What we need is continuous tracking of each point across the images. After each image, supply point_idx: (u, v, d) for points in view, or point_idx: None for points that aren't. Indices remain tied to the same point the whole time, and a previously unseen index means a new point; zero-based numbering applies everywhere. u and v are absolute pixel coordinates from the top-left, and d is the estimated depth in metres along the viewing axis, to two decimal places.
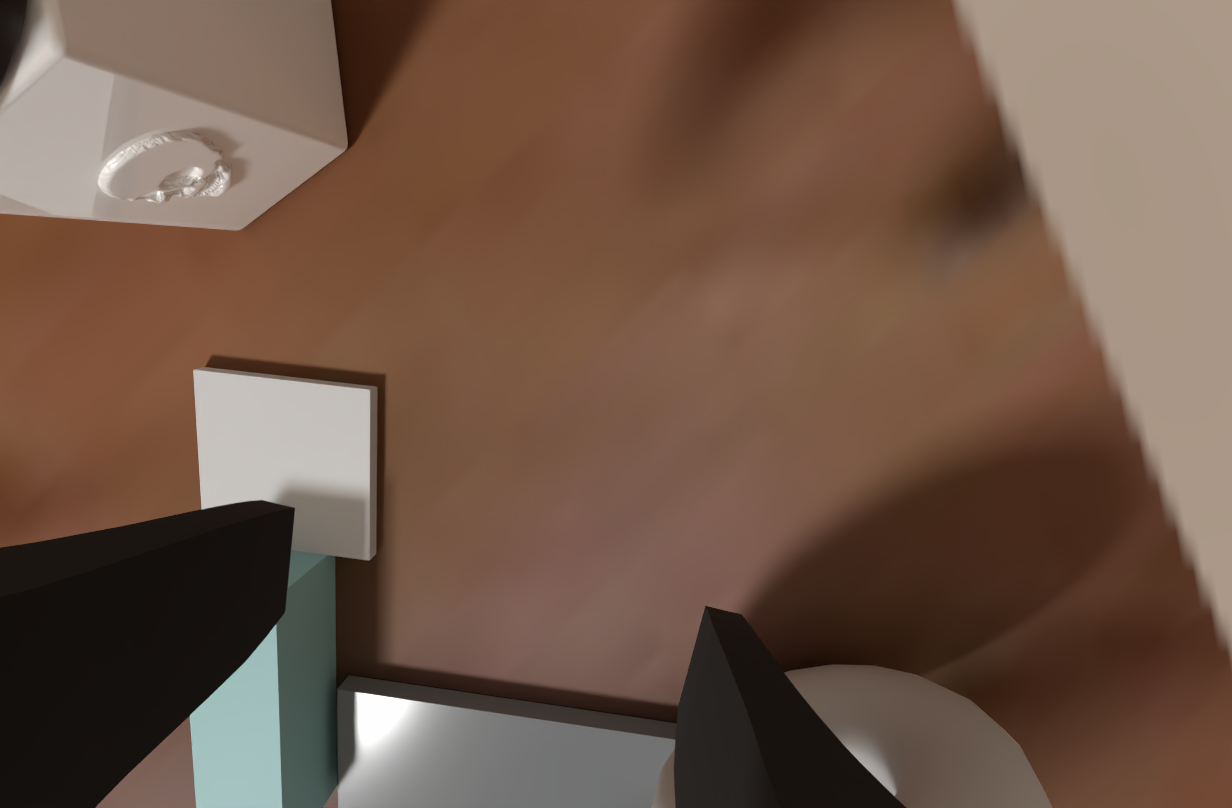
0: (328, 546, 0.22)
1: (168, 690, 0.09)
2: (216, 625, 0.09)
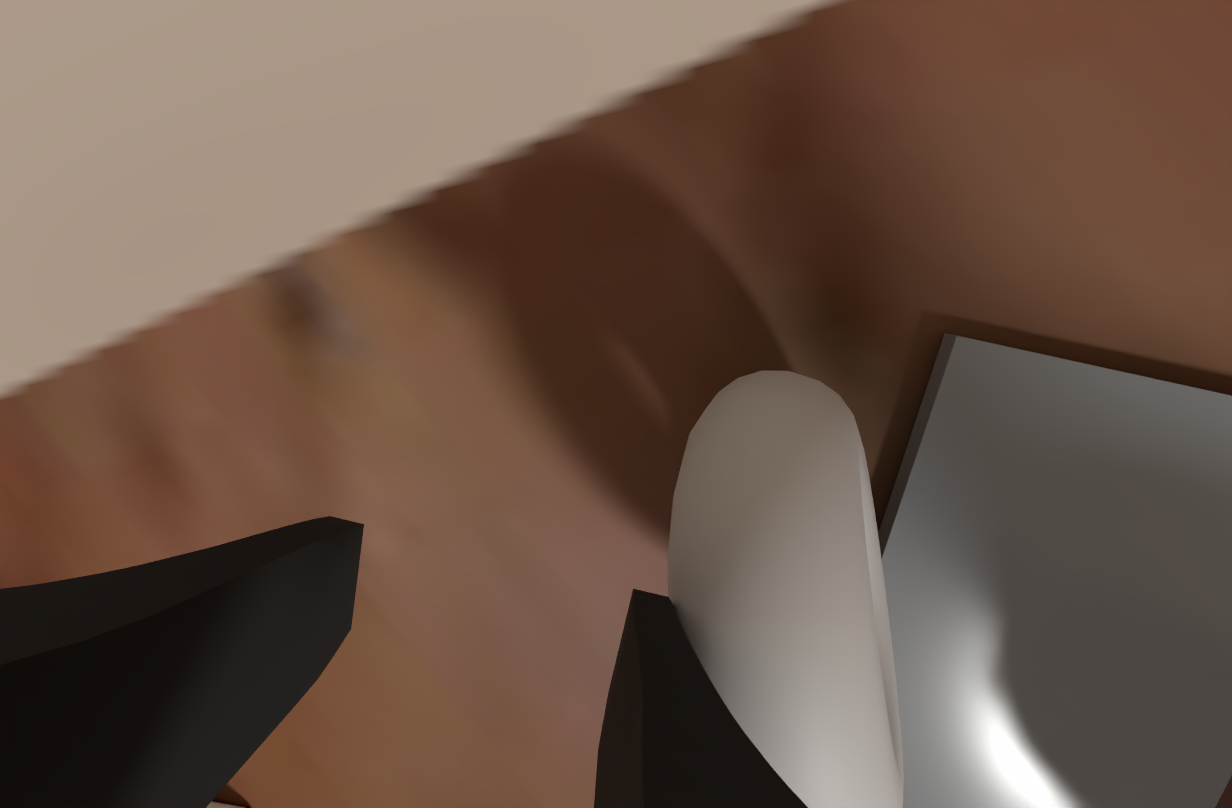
0: None
1: (252, 712, 0.09)
2: (294, 645, 0.09)
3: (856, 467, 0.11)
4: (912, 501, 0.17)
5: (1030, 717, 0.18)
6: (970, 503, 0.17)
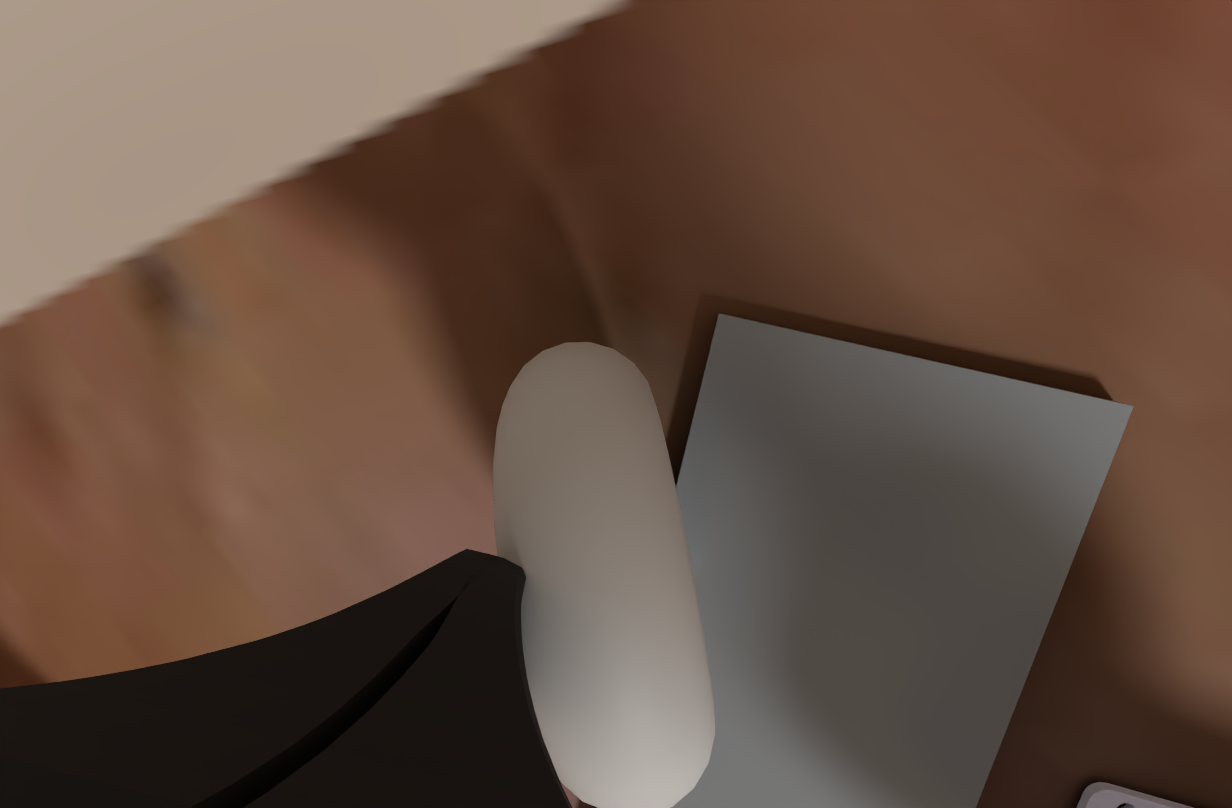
0: None
1: None
2: None
3: (660, 424, 0.12)
4: (690, 468, 0.19)
5: (812, 678, 0.19)
6: (742, 471, 0.18)
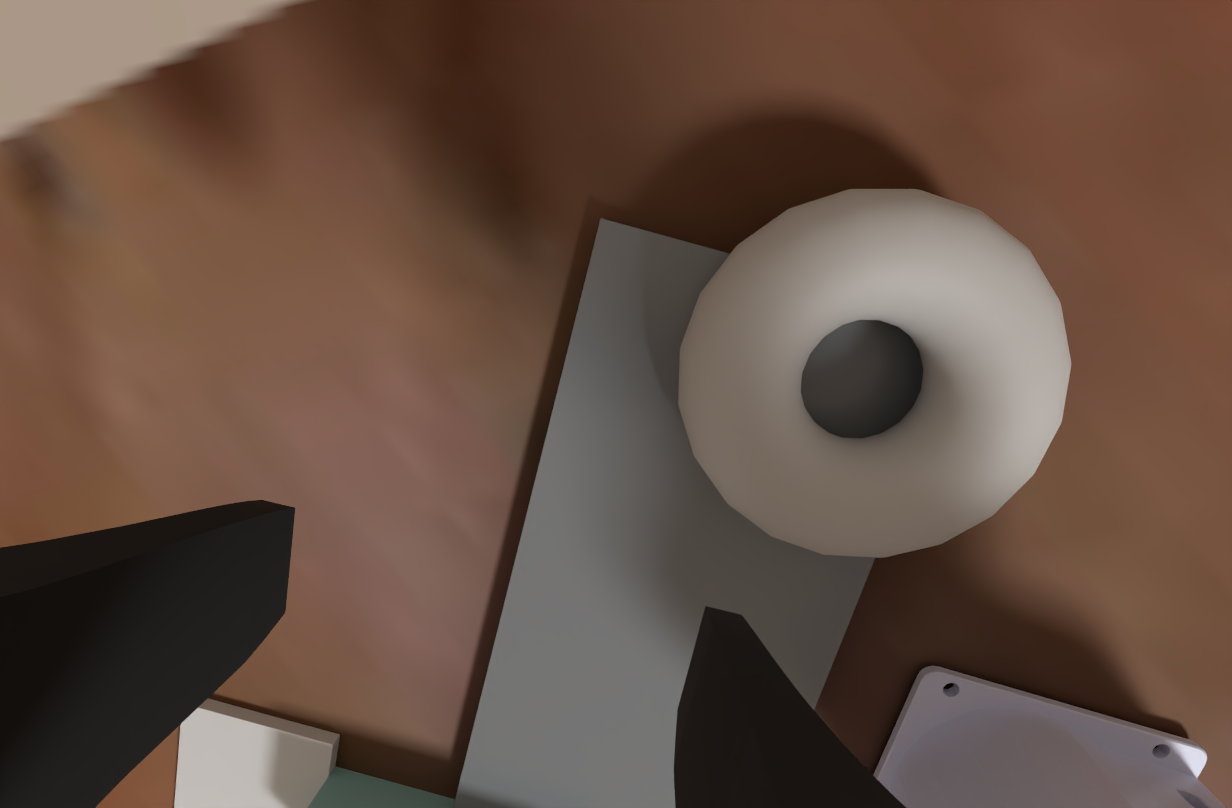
0: (320, 773, 0.24)
1: (168, 690, 0.09)
2: (216, 625, 0.09)
3: None
4: (572, 370, 0.19)
5: (681, 571, 0.21)
6: (620, 373, 0.19)
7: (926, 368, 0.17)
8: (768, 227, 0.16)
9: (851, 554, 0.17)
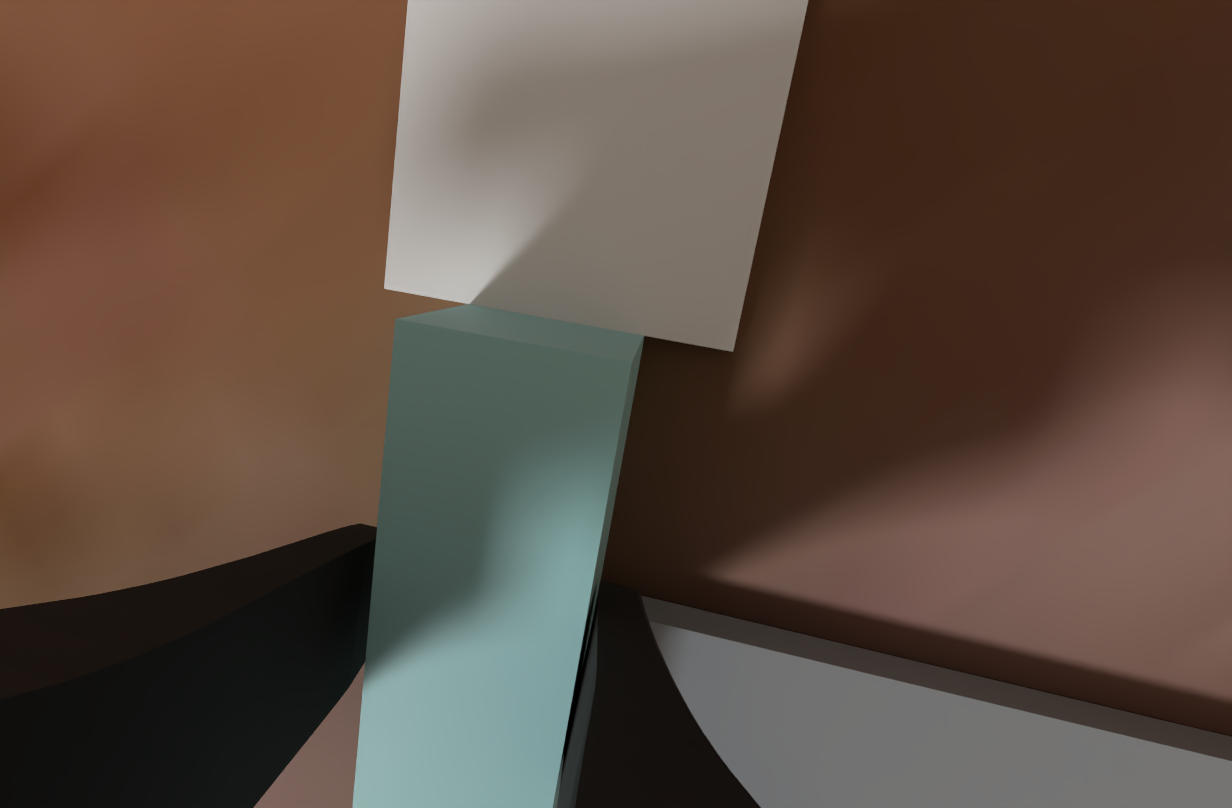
0: (650, 316, 0.10)
1: (289, 721, 0.09)
2: (329, 653, 0.09)
3: None
4: None
5: None
6: None
7: None
8: None
9: None
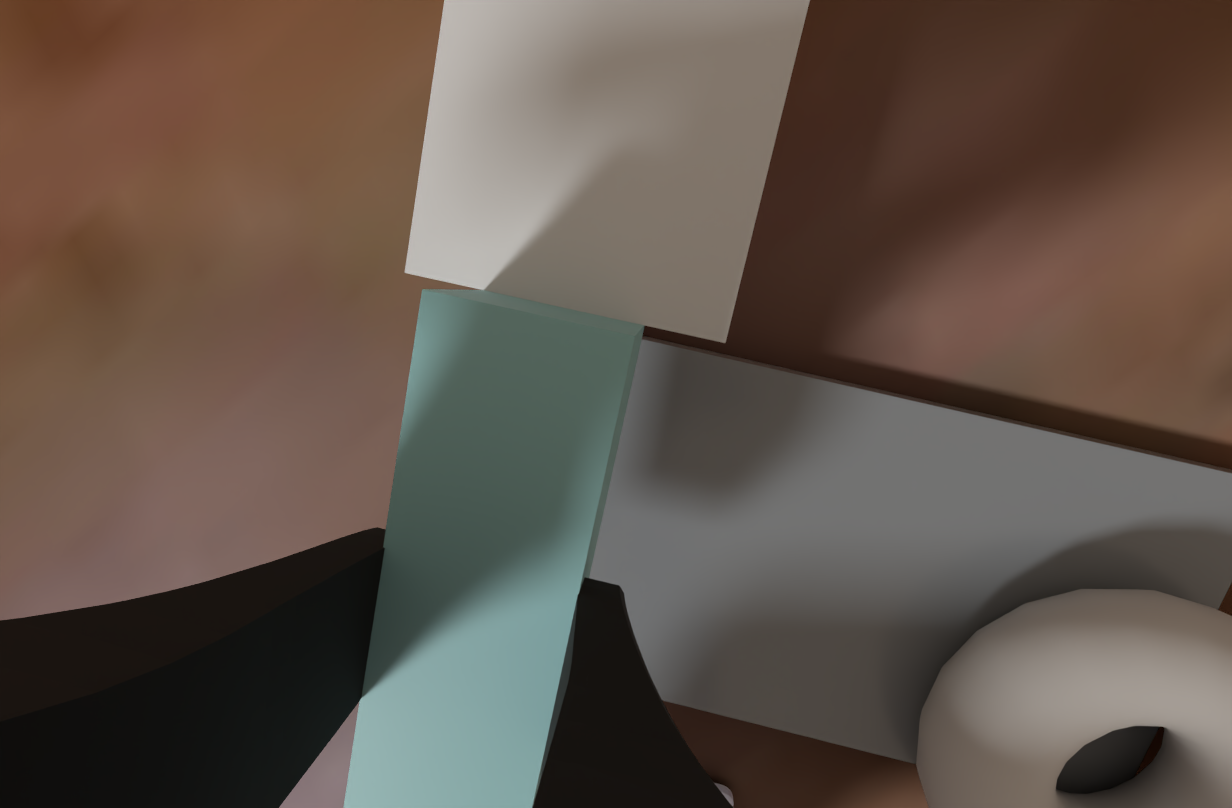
0: (650, 307, 0.11)
1: (309, 726, 0.09)
2: (348, 658, 0.09)
3: None
4: (1102, 455, 0.17)
5: (847, 573, 0.18)
6: (1093, 507, 0.17)
7: None
8: None
9: (952, 781, 0.17)
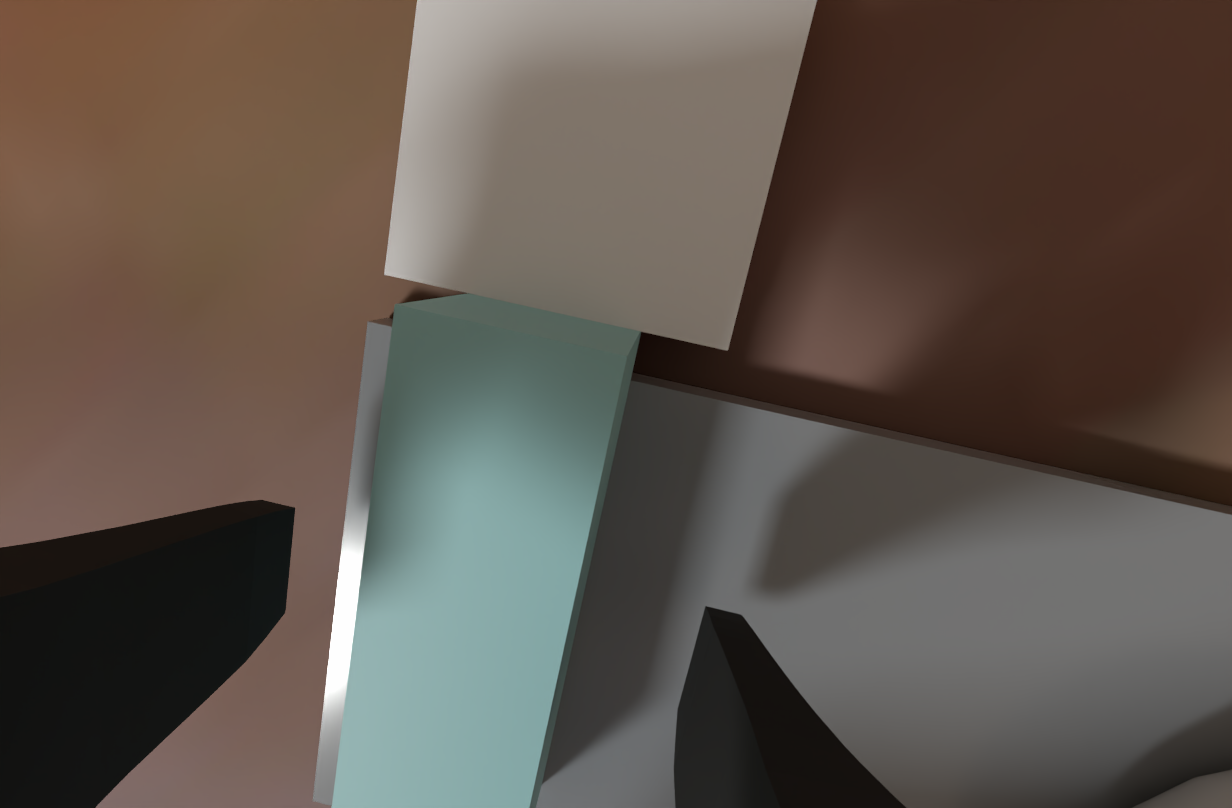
0: (647, 312, 0.11)
1: (168, 690, 0.09)
2: (216, 625, 0.09)
3: None
4: None
5: (922, 720, 0.12)
6: None
7: None
8: None
9: None
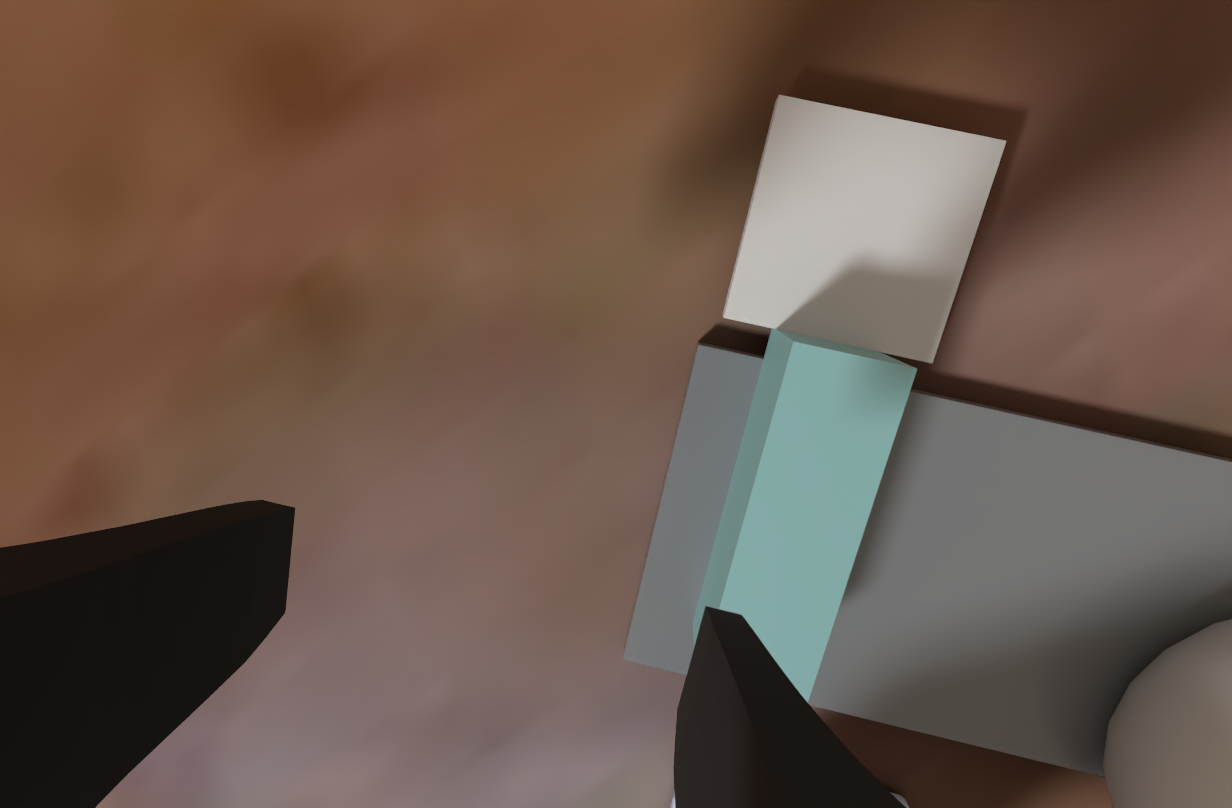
0: (885, 341, 0.18)
1: (168, 690, 0.09)
2: (216, 625, 0.09)
3: None
4: None
5: (1036, 595, 0.20)
6: None
7: None
8: None
9: (1156, 791, 0.18)
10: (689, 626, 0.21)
